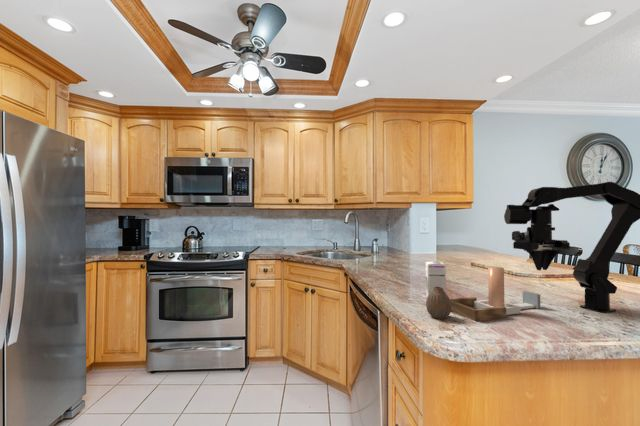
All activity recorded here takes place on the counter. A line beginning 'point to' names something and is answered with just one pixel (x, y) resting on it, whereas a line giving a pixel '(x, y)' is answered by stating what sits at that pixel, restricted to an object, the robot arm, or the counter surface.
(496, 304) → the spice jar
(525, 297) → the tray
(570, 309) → the counter surface
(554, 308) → the counter surface
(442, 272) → the syrup box
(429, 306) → the vase
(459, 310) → the dock
